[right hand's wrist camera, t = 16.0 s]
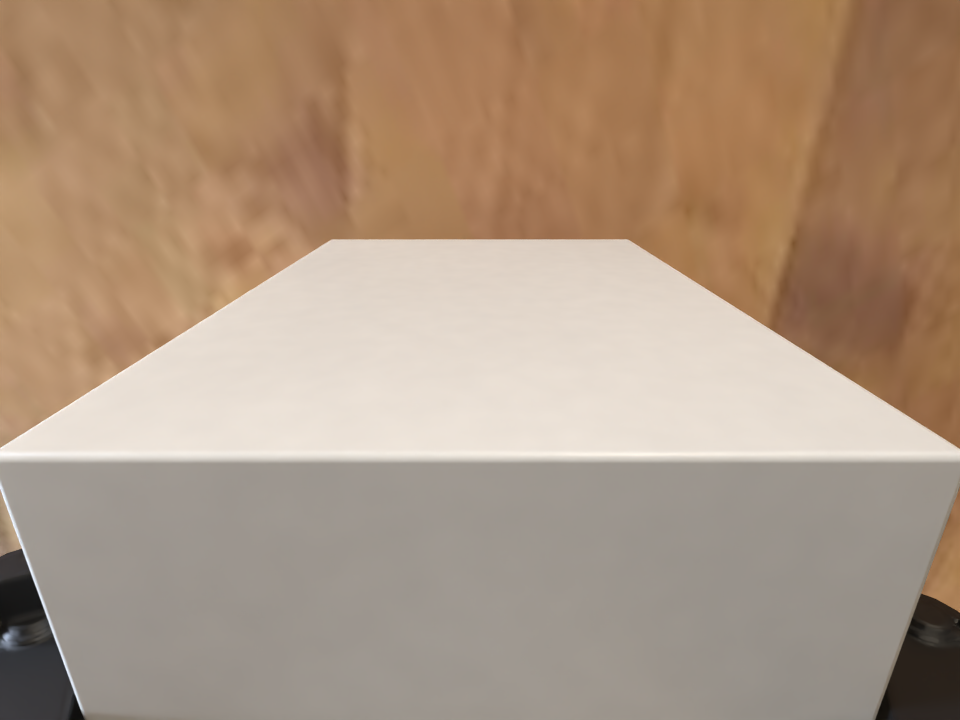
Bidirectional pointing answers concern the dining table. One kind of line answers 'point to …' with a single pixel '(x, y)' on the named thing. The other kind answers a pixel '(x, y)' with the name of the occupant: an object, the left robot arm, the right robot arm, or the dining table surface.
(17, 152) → the dining table surface
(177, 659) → the brick
